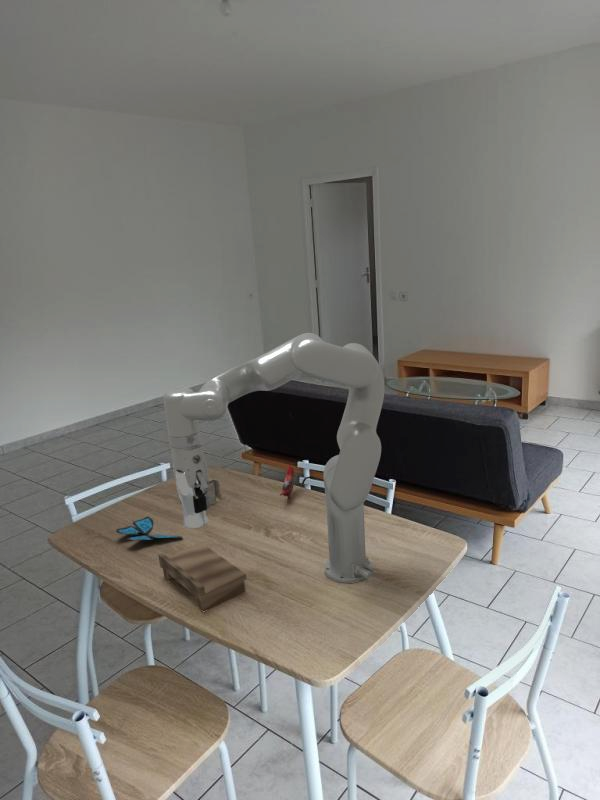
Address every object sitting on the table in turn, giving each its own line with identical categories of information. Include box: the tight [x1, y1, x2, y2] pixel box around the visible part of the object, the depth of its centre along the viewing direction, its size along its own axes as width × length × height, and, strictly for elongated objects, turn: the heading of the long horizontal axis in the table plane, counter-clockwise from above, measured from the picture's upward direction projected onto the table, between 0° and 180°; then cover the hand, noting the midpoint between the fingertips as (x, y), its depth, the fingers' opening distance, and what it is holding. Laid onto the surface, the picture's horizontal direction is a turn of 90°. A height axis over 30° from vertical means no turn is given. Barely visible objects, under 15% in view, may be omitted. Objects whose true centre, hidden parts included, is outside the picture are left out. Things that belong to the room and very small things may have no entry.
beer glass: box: [175, 469, 209, 530], centre depth 145 cm, size 7×7×15 cm
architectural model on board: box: [206, 478, 222, 508], centre depth 196 cm, size 11×3×10 cm, turn 139°
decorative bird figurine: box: [279, 465, 295, 501], centre depth 195 cm, size 3×18×10 cm, turn 167°
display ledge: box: [157, 542, 248, 612], centre depth 151 cm, size 22×13×7 cm, turn 39°
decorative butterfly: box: [115, 516, 182, 541], centre depth 178 cm, size 20×14×3 cm
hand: (193, 506), depth 146 cm, fingers closed on beer glass, 6 cm apart
